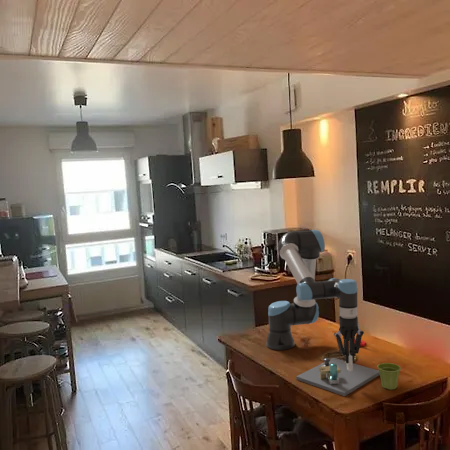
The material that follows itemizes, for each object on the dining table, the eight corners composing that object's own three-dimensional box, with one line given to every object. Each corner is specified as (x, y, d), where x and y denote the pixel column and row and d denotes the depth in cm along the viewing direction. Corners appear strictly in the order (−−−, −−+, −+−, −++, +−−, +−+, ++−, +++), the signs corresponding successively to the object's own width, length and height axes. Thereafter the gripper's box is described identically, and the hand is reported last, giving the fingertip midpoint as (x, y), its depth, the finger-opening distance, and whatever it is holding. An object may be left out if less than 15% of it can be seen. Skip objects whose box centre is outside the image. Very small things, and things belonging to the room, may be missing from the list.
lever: (320, 366, 221) (320, 350, 220) (331, 366, 221) (330, 349, 220) (328, 384, 202) (328, 366, 201) (340, 383, 202) (340, 365, 201)
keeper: (318, 376, 211) (318, 366, 211) (337, 374, 212) (337, 365, 211) (321, 380, 206) (321, 371, 206) (340, 379, 207) (340, 370, 206)
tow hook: (348, 341, 259) (350, 346, 250) (347, 318, 259) (349, 322, 249) (364, 341, 258) (366, 346, 249) (363, 318, 257) (366, 322, 248)
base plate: (296, 379, 213) (296, 376, 212) (333, 360, 232) (333, 357, 232) (344, 396, 194) (344, 392, 194) (380, 374, 214) (380, 371, 214)
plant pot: (374, 382, 205) (373, 363, 205) (395, 381, 206) (394, 361, 205) (383, 392, 196) (382, 372, 195) (405, 390, 197) (404, 370, 196)
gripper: (338, 320, 195) (339, 375, 198) (367, 316, 198) (367, 371, 200) (330, 315, 203) (331, 368, 205) (358, 312, 205) (359, 364, 208)
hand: (349, 369), depth 203 cm, fingers closed
